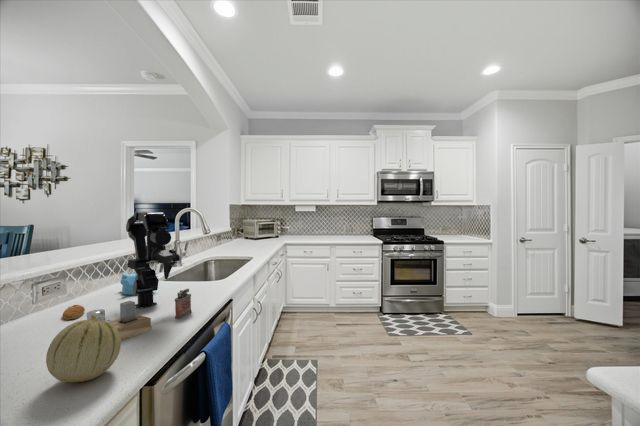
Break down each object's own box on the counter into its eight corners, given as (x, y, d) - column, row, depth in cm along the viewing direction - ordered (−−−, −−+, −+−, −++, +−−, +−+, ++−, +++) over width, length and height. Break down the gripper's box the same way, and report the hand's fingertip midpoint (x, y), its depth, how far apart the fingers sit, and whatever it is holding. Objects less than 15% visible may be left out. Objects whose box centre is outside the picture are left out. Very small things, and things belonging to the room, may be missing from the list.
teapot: (153, 286, 161) (153, 266, 161) (158, 292, 149) (157, 271, 149) (120, 291, 152) (119, 270, 152) (122, 298, 140) (121, 275, 140)
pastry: (83, 318, 115) (82, 309, 115) (60, 323, 111) (59, 313, 111) (85, 311, 122) (84, 302, 122) (63, 315, 118) (63, 306, 118)
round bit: (84, 329, 104) (83, 312, 104) (100, 324, 108) (100, 308, 108) (91, 332, 101) (91, 315, 101) (108, 327, 106) (107, 310, 106)
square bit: (120, 332, 101) (120, 303, 101) (130, 328, 104) (129, 300, 103) (125, 334, 99) (125, 304, 99) (135, 330, 102) (135, 302, 102)
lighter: (180, 319, 113) (180, 293, 113) (172, 318, 114) (172, 292, 113) (193, 311, 121) (193, 287, 121) (186, 311, 121) (185, 287, 121)
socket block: (104, 334, 99) (103, 323, 99) (134, 324, 108) (134, 313, 108) (120, 340, 95) (120, 328, 95) (150, 329, 103) (150, 318, 103)
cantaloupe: (34, 403, 64) (32, 336, 64) (61, 369, 78) (59, 313, 78) (114, 386, 70) (113, 324, 70) (127, 358, 84) (125, 306, 84)
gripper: (143, 247, 106) (144, 290, 107) (188, 241, 123) (188, 278, 123) (126, 245, 112) (127, 286, 112) (171, 240, 128) (171, 276, 128)
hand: (155, 281), depth 119 cm, fingers open, 9 cm apart
